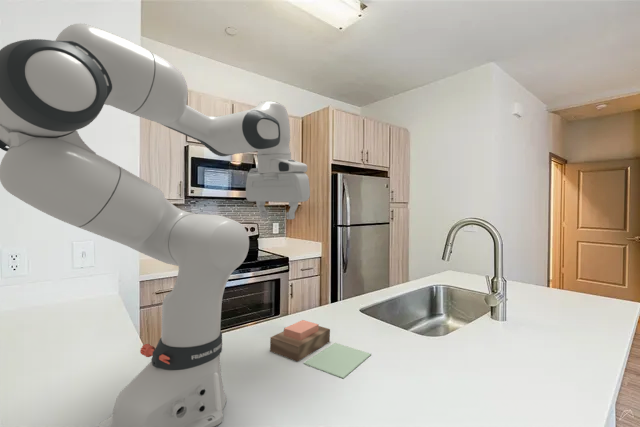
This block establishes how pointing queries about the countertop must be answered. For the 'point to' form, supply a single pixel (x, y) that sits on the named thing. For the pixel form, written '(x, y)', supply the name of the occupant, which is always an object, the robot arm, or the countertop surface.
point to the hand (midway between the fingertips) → (277, 218)
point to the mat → (338, 360)
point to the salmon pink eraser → (301, 330)
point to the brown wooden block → (299, 344)
